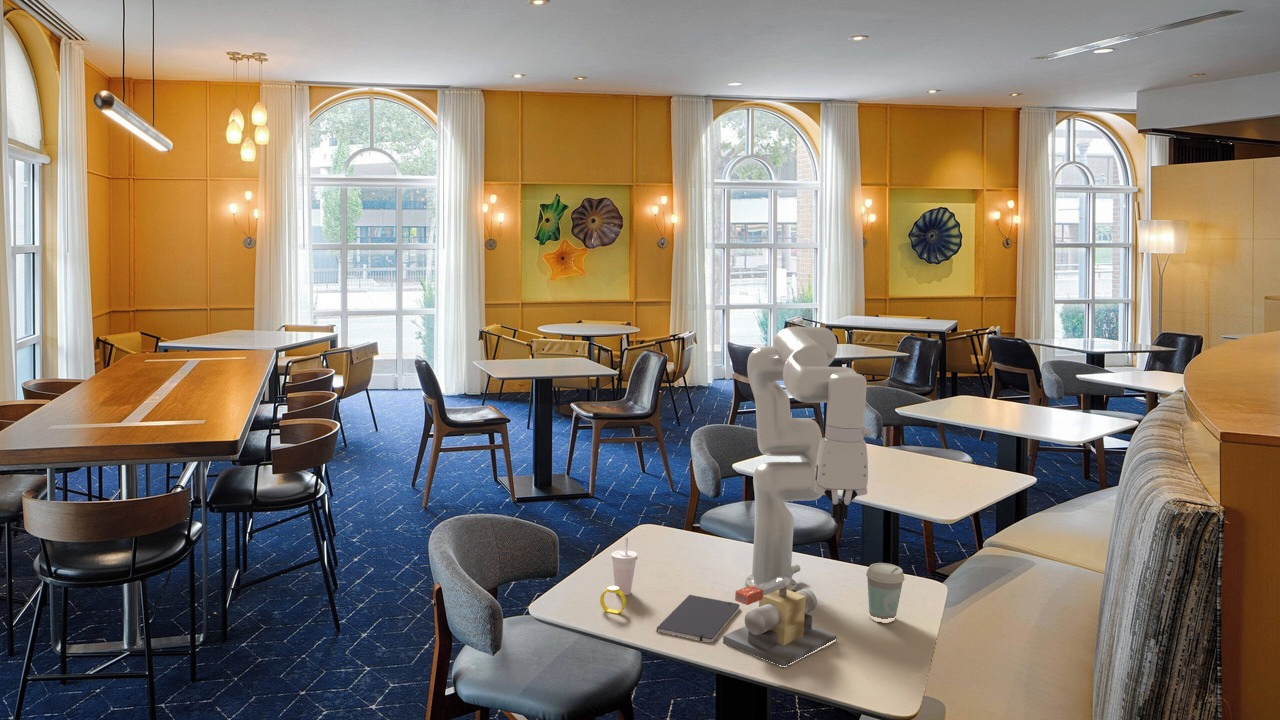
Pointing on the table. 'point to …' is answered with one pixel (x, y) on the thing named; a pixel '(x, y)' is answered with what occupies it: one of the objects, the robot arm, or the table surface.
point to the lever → (761, 590)
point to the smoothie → (624, 568)
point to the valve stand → (781, 628)
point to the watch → (613, 590)
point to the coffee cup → (884, 589)
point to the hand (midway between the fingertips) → (838, 521)
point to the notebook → (699, 618)
